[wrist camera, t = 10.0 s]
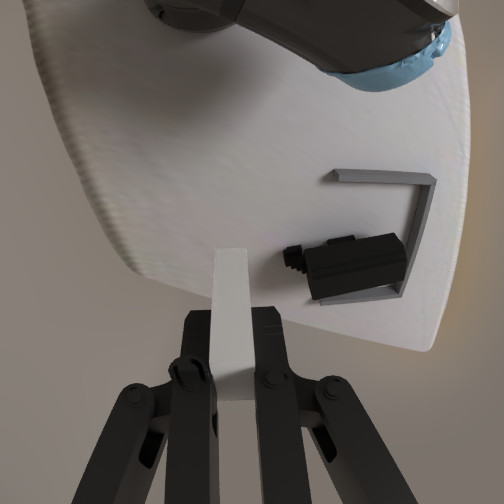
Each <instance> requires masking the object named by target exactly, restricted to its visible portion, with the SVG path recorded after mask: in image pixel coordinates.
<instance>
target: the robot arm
mask: <svg viewBox="0 0 504 504" xmlns="http://www.w3.org/2000/svg"><path fill="white" fill-rule="evenodd" d="M144 1H145V3H146V5H147V7H148V9H149V10H150V11H151V13H152V14H153V15H154V16H155V17H156V18H158V19H159V20H160V21H162V22H163V23H165V24H167V25H169V26H171V27H173V28H175V29H178V30H182V31H186V32H194V33H204V32H212V31H217V30H221V29H224V28H227V27H229V26H232V25H234V24H238V25H240V26H242V27H244V28H246V29H248V30H251V31H253V32H255V33H257V34H259V35H261V36H263V37H265V38H267V39H269V40H271V41H273V42H275V43H276V44H278V45H280V46H282V47H284V48H286V49H288V50H289V51H291V52H293V53H295V54H296V55H298V56H300V57H302V58H303V59H305V60H307V61H308V62H310V63H312V64H313V65H315V66H316V67H317V68H318V69H319V70H320V71H322V72H323V73H326V74H327V75H330V76H334V77H336V78H338V79H340V80H341V81H343V82H345V83H346V84H348V85H349V86H351V87H353V88H355V89H358V90H361V91H366V92H382V91H387V90H391V89H394V88H397V87H400V86H402V85H405V84H407V83H409V82H411V81H413V80H414V79H416V78H418V77H419V76H421V75H422V74H423V73H425V72H426V71H427V70H428V69H430V68H431V67H432V66H433V65H434V63H433V61H432V60H433V59H434V58H436V57H440V56H442V55H443V53H444V52H445V50H446V49H447V47H448V45H449V42H450V37H451V26H450V23H449V21H448V19H450V18H452V17H453V16H455V15H456V14H458V12H459V0H144ZM168 372H169V374H170V377H171V379H172V380H171V381H169V382H168V383H165V384H163V385H159V386H155V387H151V388H149V387H147V386H146V385H143V384H139V383H134V384H130V385H128V386H127V387H125V388H124V389H123V390H122V391H121V393H120V394H119V396H118V399H117V401H116V403H115V405H114V407H113V409H112V411H111V413H110V415H109V418H108V420H107V422H106V424H105V426H104V428H103V431H102V433H101V435H100V437H99V440H98V442H97V444H96V447H95V448H94V451H93V453H92V455H91V458H90V460H89V462H88V464H87V467H86V469H85V472H84V474H83V476H82V479H81V481H80V483H79V486H78V488H77V491H76V493H75V496H74V498H73V501H72V503H71V504H145V501H146V498H147V495H148V492H149V490H150V487H151V484H152V481H153V478H154V475H155V472H156V469H157V467H158V464H159V461H160V458H161V455H162V453H163V450H164V447H165V444H166V441H167V439H168V446H167V461H166V478H165V501H164V502H165V503H164V504H220V496H219V495H220V494H219V441H218V410H217V400H218V401H227V400H228V401H229V400H253V399H255V407H256V424H257V439H258V453H259V466H260V480H261V493H262V504H312V501H311V494H310V487H309V480H308V472H307V466H306V458H305V452H304V445H303V438H302V432H301V427H307V429H308V431H309V432H310V435H311V437H312V439H313V441H314V444H315V446H316V448H317V450H318V452H319V454H320V456H321V459H322V461H323V463H324V465H325V467H326V469H327V471H328V473H329V475H330V478H331V480H332V482H333V484H334V486H335V488H336V490H337V492H338V494H339V496H340V498H341V500H342V502H343V504H418V503H417V501H416V499H415V497H414V495H413V494H412V492H411V490H410V488H409V486H408V484H407V483H406V481H405V479H404V477H403V475H402V474H401V472H400V470H399V468H398V467H397V465H396V463H395V461H394V459H393V458H392V456H391V454H390V453H389V451H388V449H387V447H386V445H385V444H384V442H383V440H382V438H381V437H380V435H379V433H378V432H377V430H376V428H375V426H374V424H373V423H372V421H371V419H370V418H369V416H368V414H367V412H366V411H365V409H364V407H363V405H362V404H361V402H360V400H359V399H358V397H357V395H356V394H355V392H354V390H353V388H352V387H351V385H350V384H349V383H348V381H347V380H346V379H344V378H342V377H340V376H334V375H332V376H326V377H324V378H322V379H321V380H320V381H316V380H310V379H305V378H302V377H300V376H298V375H296V374H295V373H294V372H293V371H292V370H291V368H290V367H289V363H288V359H287V352H286V346H285V340H284V335H283V328H282V323H281V316H280V314H279V312H278V311H277V310H276V308H275V307H274V306H269V307H251V302H250V289H249V276H248V262H247V249H246V248H227V249H215V262H214V277H213V293H212V310H191V311H190V312H189V314H188V315H187V317H186V319H185V322H184V331H183V339H182V345H181V354H180V357H179V358H177V359H175V360H174V361H173V362H172V363H171V365H170V366H169V369H168Z"/></svg>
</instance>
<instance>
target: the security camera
mask: <svg viewBox="0 0 504 504" xmlns="http://www.w3.org/2000/svg"><path fill="white" fill-rule="evenodd" d="M283 255H284V261H285V265H286V267H288V266H291V269H294V268H296V269H297V271H302V274H305V273H307V279H308V285H309V288H310V292H311V295H312V299H313V300H318V299H323V298H328V297H333V296H337V295H342V294H347V293H351V292H356V291H361V290H365V289H370V288H374V287H378V286H383V285H387V284H391V283H395V282H399V281H404V279H405V273H406V267H407V257H406V253H405V250H404V245H403V244H402V243H401V241H400V240H399V239H398V237H397V236H396V235H395V233H389V234H384V235H379V236H373V237H368V238H363V239H358V240H355V237H354V235H351V236H345V237H340V238H335V239H329V240H328V245H326V246H321V247H315V248H310V249H305V251H304V254H303V256H302V248H301V245H297V246H292V247H287V250H285V251H283Z"/></svg>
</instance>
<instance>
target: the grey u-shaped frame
mask: <svg viewBox="0 0 504 504" xmlns="http://www.w3.org/2000/svg"><path fill="white" fill-rule="evenodd" d="M334 176H335V178H336V179H337V180H338V181H339V182H382V183H406V184H422V187H421V192H420V196H419V201H418V205H417V209H416V213H415V217H414V221H413V225H412V229H411V232H410V236H409V240H408V243H407V247H406V250H405V253H406V257H407V267H406V273H405V279H404V281H399V282H395V285H394V286H389V287H379V288H370V289H365V290H361V291H356V292H351V293H347V294H342V295H337V296H333V297H328V298H323V299H319V302H320V306H323V305H334V304H345V303H356V302H365V301H375V300H384V299H393V298H401V297H402V295H403V292H404V289H405V287H406V284H407V281H408V278H409V275H410V273H411V270H412V267H413V264H414V261H415V258H416V255H417V251H418V248H419V245H420V242H421V238H422V235H423V232H424V228H425V225H426V221H427V217H428V214H429V210H430V206H431V202H432V198H433V194H434V190H435V185H436V181H437V179H435V178H434V177H433V176H431V175H430V174H427V173H414V172H399V171H382V170H358V169H334Z"/></svg>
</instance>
